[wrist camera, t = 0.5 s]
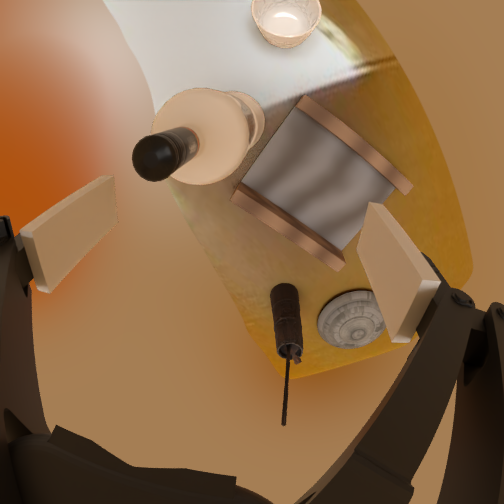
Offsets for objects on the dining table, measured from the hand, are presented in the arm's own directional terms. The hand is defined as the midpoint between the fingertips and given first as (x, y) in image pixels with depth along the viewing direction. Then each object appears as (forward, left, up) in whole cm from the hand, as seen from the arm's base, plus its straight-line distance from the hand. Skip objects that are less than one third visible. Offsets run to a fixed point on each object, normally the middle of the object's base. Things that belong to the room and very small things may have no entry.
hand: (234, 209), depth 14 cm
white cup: (-17, +5, -31) cm, 36 cm away
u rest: (+7, +8, -31) cm, 33 cm away
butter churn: (+29, +2, -31) cm, 43 cm away
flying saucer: (+35, +15, -31) cm, 49 cm away
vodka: (-3, -4, -31) cm, 31 cm away
